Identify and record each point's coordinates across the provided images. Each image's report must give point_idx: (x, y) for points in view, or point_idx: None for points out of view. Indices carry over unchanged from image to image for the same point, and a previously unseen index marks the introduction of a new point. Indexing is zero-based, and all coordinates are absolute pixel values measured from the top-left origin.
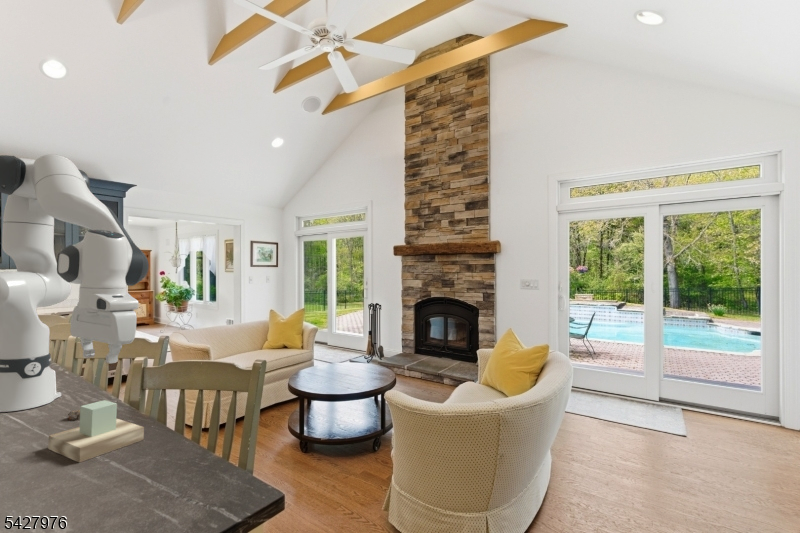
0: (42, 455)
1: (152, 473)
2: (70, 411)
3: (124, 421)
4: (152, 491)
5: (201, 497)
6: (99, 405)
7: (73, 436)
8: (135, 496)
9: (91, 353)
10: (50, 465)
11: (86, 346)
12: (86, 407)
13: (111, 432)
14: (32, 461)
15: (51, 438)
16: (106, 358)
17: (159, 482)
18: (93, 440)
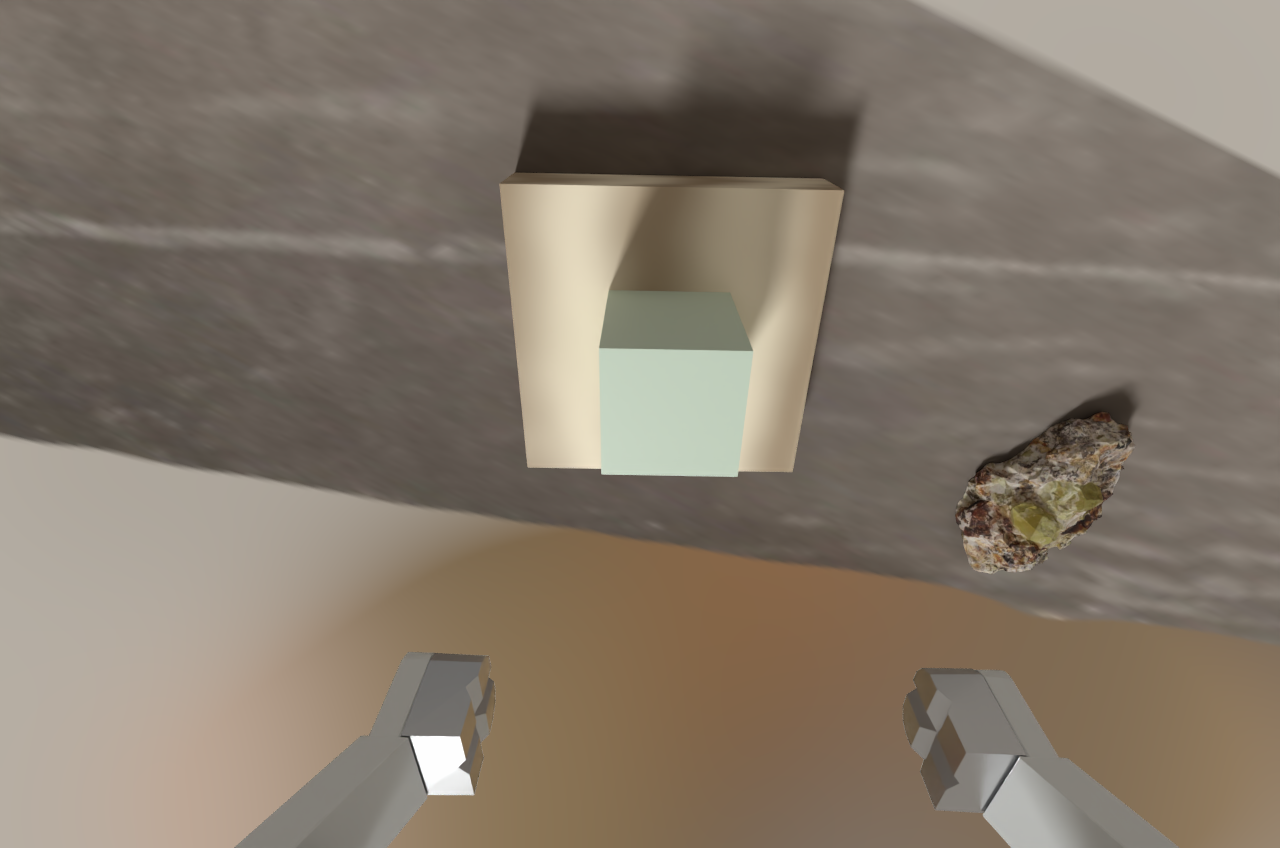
0: (768, 122)
1: (150, 271)
2: (1131, 441)
3: None
4: None
5: None
6: (656, 411)
7: (700, 249)
8: None
9: (931, 741)
10: (601, 81)
11: (1059, 826)
12: (687, 355)
13: (588, 367)
14: (736, 55)
15: (808, 187)
16: (448, 694)
17: (37, 237)
18: (552, 271)
